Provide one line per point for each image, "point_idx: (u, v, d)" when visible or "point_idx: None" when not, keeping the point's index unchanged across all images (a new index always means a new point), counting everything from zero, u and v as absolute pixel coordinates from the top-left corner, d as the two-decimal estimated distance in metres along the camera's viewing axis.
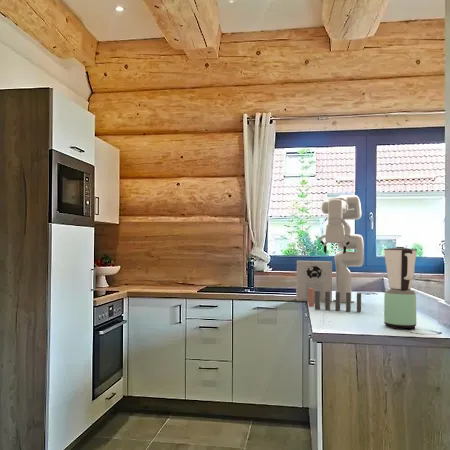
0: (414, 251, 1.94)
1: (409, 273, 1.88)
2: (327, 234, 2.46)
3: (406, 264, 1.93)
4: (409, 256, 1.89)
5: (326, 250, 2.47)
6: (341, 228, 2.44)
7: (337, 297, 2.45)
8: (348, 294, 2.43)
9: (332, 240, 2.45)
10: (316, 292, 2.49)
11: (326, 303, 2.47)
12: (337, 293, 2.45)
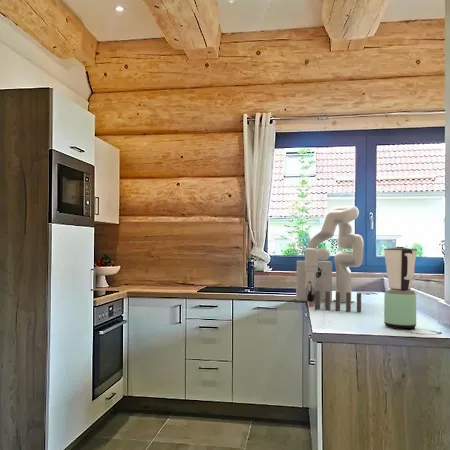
0: (414, 251, 1.94)
1: (409, 273, 1.88)
2: (313, 281, 2.60)
3: (406, 264, 1.93)
4: (409, 256, 1.89)
5: None
6: None
7: (337, 297, 2.45)
8: (348, 294, 2.43)
9: (314, 287, 2.62)
10: (316, 292, 2.49)
11: (326, 303, 2.47)
12: (337, 293, 2.45)
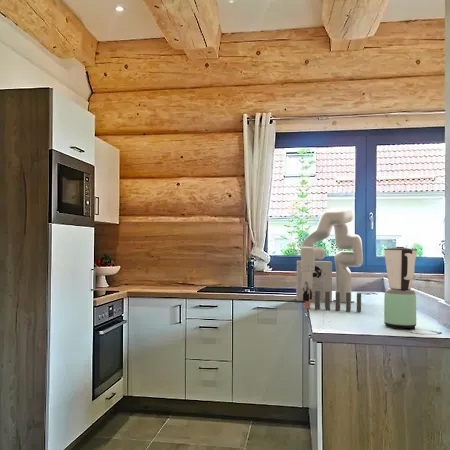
0: (414, 251, 1.94)
1: (409, 273, 1.88)
2: (310, 282, 2.49)
3: (406, 264, 1.93)
4: (409, 256, 1.89)
5: None
6: None
7: (337, 297, 2.45)
8: (348, 294, 2.43)
9: (311, 287, 2.51)
10: (316, 292, 2.49)
11: (326, 303, 2.47)
12: (337, 293, 2.45)
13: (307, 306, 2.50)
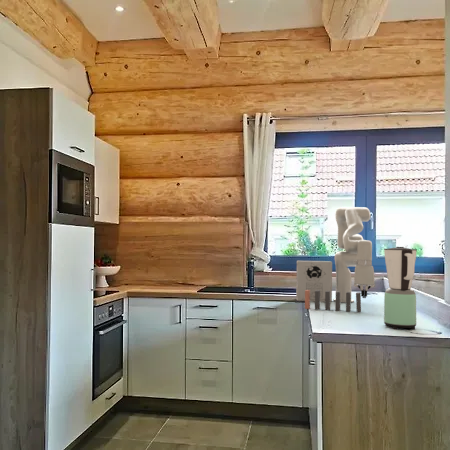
0: (414, 251, 1.94)
1: (409, 273, 1.88)
2: None
3: (406, 264, 1.93)
4: (409, 256, 1.89)
5: None
6: None
7: (337, 297, 2.45)
8: (348, 294, 2.43)
9: None
10: (316, 292, 2.49)
11: (326, 303, 2.47)
12: (337, 293, 2.45)
13: (307, 306, 2.50)
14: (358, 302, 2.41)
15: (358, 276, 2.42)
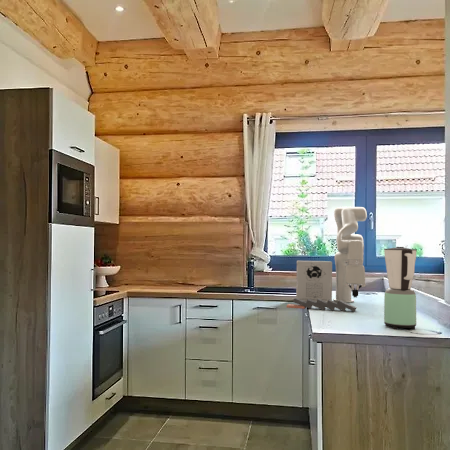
0: (414, 251, 1.94)
1: (409, 273, 1.88)
2: None
3: (406, 264, 1.93)
4: (409, 256, 1.89)
5: None
6: None
7: (321, 303, 2.48)
8: (328, 302, 2.46)
9: None
10: (294, 301, 2.53)
11: (317, 306, 2.48)
12: (317, 301, 2.48)
13: (301, 307, 2.51)
14: (346, 306, 2.43)
15: (349, 275, 2.43)
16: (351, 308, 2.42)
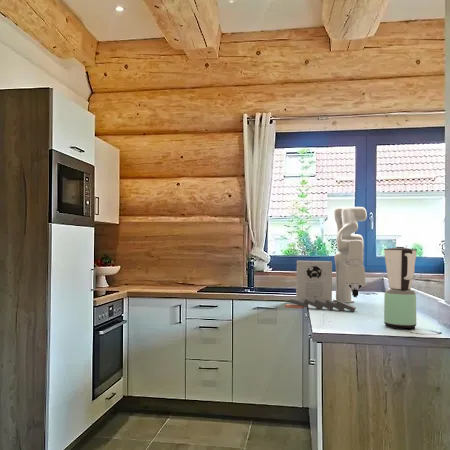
0: (414, 251, 1.94)
1: (409, 273, 1.88)
2: None
3: (406, 264, 1.93)
4: (409, 256, 1.89)
5: None
6: None
7: (319, 303, 2.49)
8: (327, 302, 2.47)
9: None
10: (291, 301, 2.52)
11: (315, 305, 2.49)
12: (315, 301, 2.49)
13: (300, 307, 2.52)
14: (345, 306, 2.43)
15: (349, 275, 2.43)
16: (350, 308, 2.42)
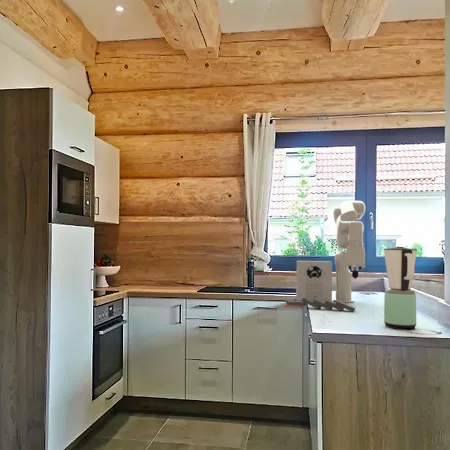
0: (414, 251, 1.94)
1: (409, 273, 1.88)
2: None
3: (406, 264, 1.93)
4: (409, 256, 1.89)
5: None
6: None
7: (318, 302, 2.49)
8: (326, 302, 2.47)
9: None
10: (287, 303, 2.55)
11: (312, 305, 2.50)
12: (314, 301, 2.50)
13: (298, 306, 2.52)
14: (344, 306, 2.43)
15: (349, 257, 2.44)
16: (350, 308, 2.42)
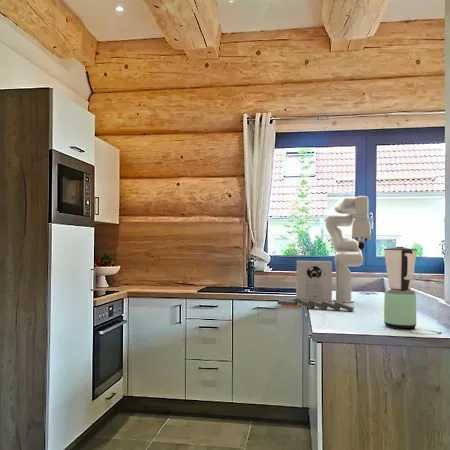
0: (414, 251, 1.94)
1: (409, 273, 1.88)
2: None
3: (406, 264, 1.93)
4: (409, 256, 1.89)
5: None
6: None
7: (313, 303, 2.50)
8: (323, 302, 2.48)
9: None
10: (278, 303, 2.57)
11: (305, 304, 2.52)
12: (309, 302, 2.51)
13: (296, 307, 2.53)
14: (343, 306, 2.44)
15: (355, 229, 2.59)
16: (348, 308, 2.43)
